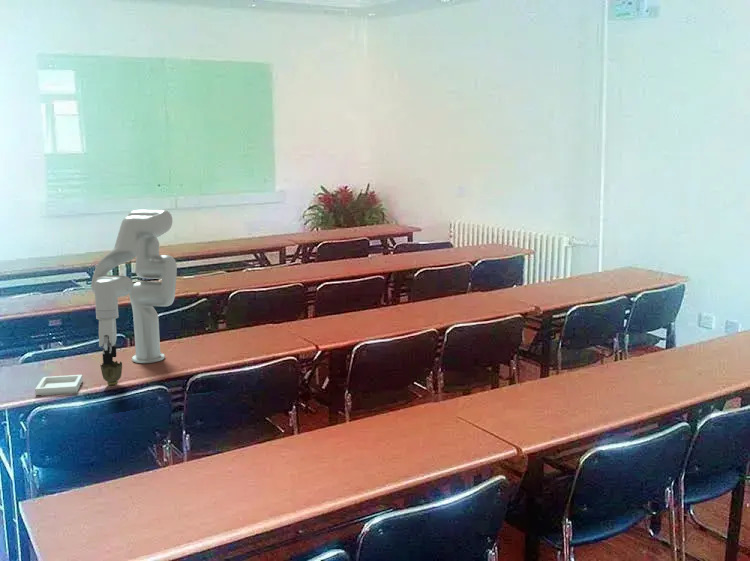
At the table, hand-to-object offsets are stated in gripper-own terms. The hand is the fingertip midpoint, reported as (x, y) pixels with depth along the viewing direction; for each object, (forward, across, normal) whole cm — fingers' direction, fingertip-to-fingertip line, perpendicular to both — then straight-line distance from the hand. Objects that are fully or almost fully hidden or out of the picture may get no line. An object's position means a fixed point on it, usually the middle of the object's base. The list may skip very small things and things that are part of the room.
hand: (109, 360), depth 271 cm
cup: (+10, -1, 0) cm, 10 cm away
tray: (+10, -1, -18) cm, 20 cm away
